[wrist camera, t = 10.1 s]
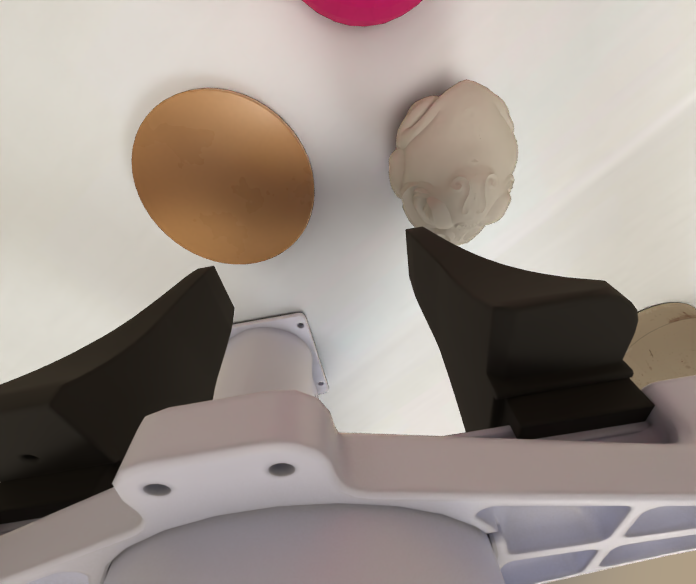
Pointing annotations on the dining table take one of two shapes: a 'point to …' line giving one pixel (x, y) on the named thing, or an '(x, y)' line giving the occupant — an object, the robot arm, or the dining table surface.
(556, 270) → the dining table surface
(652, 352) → the thermos bottle
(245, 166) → the copper coaster
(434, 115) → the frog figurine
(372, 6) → the pepper mill
